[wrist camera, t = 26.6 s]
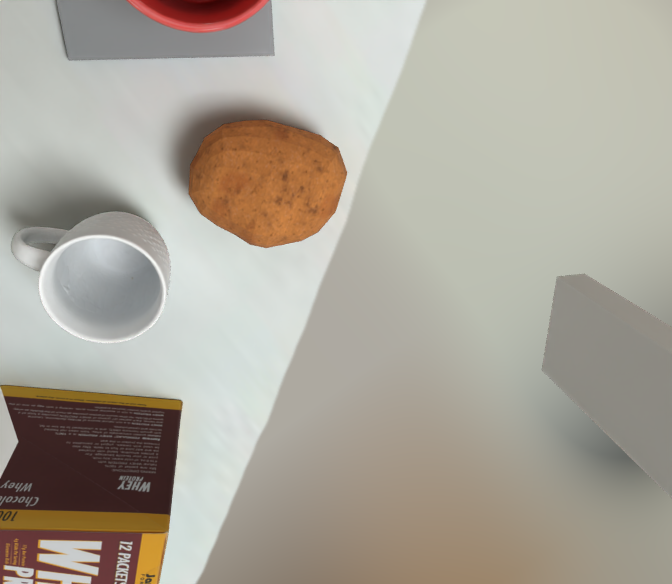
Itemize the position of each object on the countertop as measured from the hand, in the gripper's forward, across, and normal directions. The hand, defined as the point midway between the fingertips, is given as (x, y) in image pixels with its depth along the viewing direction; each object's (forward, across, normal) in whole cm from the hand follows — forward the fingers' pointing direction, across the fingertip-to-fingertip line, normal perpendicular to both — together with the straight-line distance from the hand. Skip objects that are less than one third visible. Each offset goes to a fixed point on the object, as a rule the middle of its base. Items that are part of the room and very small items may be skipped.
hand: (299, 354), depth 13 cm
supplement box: (+33, -16, -26) cm, 45 cm away
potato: (+33, +2, -3) cm, 33 cm away
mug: (+33, -11, -7) cm, 35 cm away
